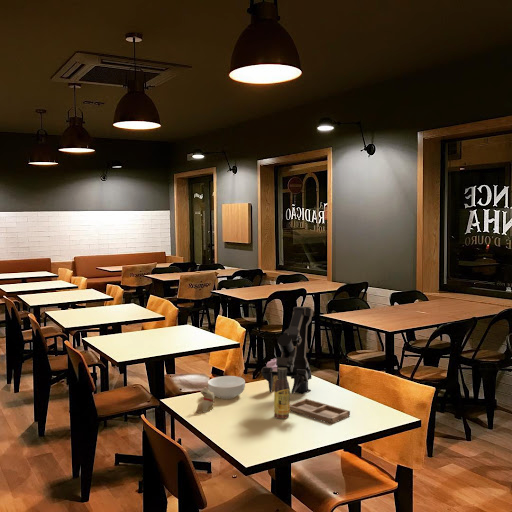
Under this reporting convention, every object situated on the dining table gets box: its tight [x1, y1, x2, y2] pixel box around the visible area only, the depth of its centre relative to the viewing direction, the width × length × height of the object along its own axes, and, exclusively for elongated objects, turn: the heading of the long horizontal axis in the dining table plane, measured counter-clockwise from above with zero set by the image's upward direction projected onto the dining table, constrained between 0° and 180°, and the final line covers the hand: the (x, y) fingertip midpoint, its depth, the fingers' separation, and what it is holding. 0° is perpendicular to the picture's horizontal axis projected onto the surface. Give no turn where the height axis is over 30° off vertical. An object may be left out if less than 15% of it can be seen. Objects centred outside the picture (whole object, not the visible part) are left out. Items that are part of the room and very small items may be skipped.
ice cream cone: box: [265, 357, 278, 392], centre depth 261 cm, size 7×6×15 cm
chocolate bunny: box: [196, 386, 215, 413], centre depth 237 cm, size 6×8×10 cm
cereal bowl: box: [207, 375, 246, 400], centre depth 255 cm, size 17×17×7 cm
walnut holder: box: [289, 398, 351, 425], centre depth 231 cm, size 12×23×2 cm, turn 44°
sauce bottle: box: [273, 367, 291, 420], centre depth 227 cm, size 7×6×20 cm
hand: (281, 392), depth 226 cm, fingers open, 9 cm apart
